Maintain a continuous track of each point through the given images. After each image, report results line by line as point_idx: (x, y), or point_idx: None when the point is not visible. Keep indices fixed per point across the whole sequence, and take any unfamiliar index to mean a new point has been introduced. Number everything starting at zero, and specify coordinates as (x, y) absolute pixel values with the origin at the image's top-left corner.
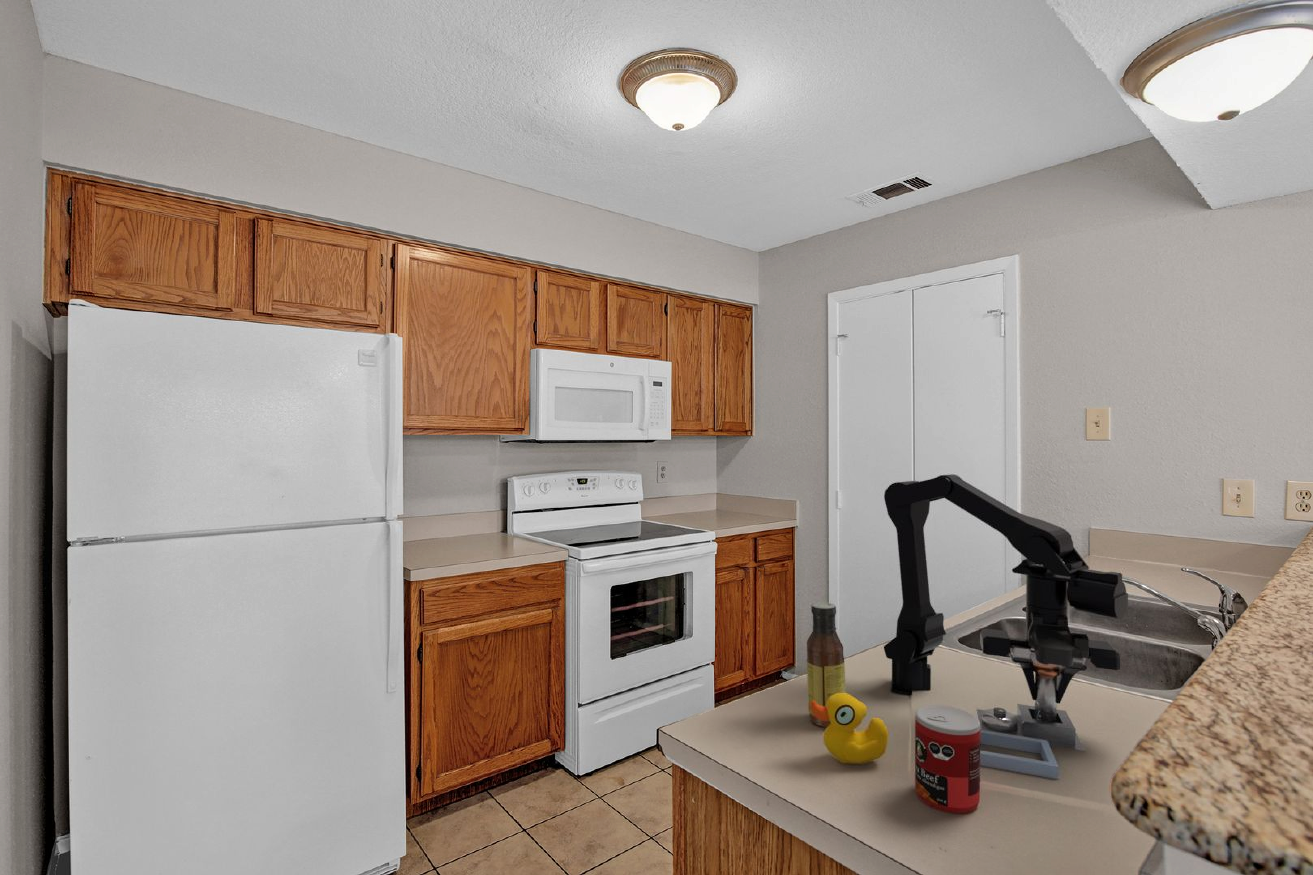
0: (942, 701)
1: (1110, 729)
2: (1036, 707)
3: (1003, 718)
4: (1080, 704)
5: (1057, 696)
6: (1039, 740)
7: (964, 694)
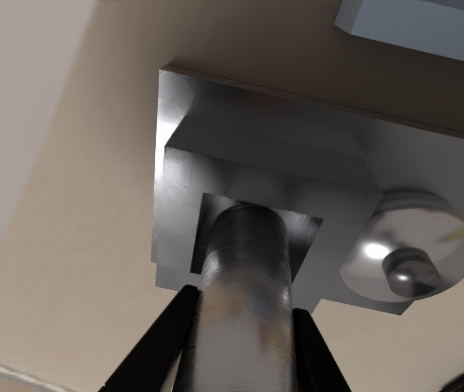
0: (450, 349)
1: (55, 250)
2: (290, 274)
3: (404, 246)
4: (103, 339)
5: (189, 316)
6: (399, 25)
7: (357, 371)
